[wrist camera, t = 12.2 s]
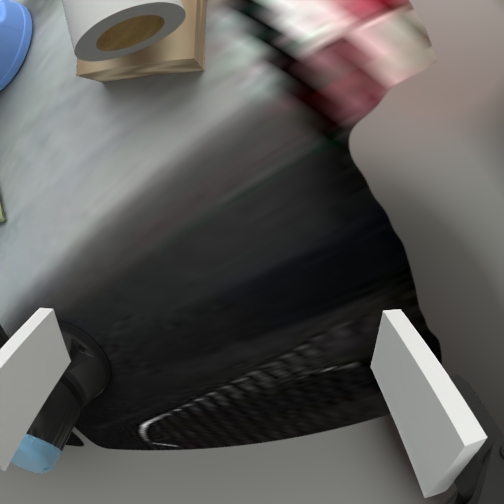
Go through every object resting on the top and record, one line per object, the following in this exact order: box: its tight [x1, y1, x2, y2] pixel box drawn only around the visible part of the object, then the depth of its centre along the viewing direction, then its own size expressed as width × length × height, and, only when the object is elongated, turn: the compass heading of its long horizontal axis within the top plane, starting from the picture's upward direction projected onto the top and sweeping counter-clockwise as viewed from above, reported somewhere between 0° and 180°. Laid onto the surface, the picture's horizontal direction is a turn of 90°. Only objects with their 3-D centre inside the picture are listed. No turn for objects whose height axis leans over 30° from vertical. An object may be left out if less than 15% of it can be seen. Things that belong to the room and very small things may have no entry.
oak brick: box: [77, 0, 207, 82], centre depth 28 cm, size 13×13×7 cm
